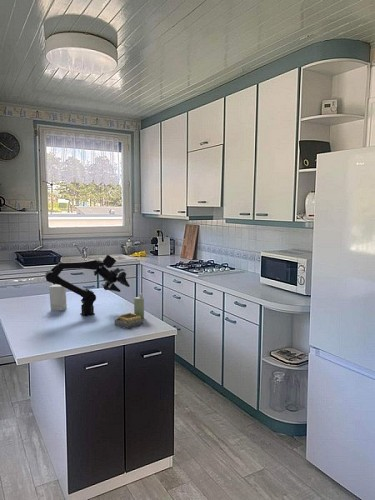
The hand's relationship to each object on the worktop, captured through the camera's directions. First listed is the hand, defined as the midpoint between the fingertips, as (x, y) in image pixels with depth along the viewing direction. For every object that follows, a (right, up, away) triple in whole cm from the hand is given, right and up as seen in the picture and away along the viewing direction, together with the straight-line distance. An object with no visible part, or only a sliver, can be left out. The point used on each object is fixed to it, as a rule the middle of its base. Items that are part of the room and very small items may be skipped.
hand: (124, 288), depth 241 cm
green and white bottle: (+11, -16, -17) cm, 26 cm away
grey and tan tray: (+7, -17, -28) cm, 33 cm away
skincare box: (-42, -13, +2) cm, 44 cm away
